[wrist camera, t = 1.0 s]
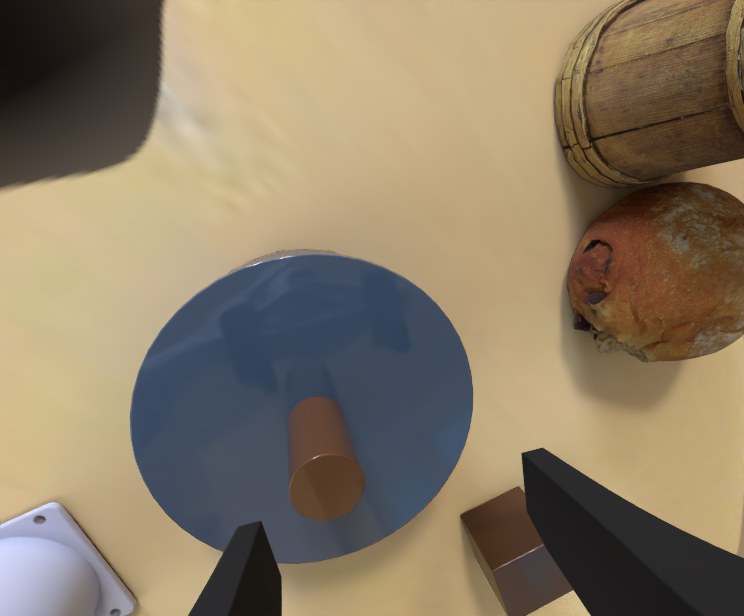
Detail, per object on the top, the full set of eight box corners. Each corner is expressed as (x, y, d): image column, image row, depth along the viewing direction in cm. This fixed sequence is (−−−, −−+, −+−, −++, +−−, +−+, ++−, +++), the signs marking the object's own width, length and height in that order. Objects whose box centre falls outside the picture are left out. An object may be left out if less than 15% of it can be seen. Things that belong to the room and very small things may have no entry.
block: (477, 562, 29) (511, 624, 24) (459, 515, 27) (492, 572, 23) (533, 533, 29) (576, 588, 25) (518, 485, 28) (561, 536, 24)
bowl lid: (234, 592, 19) (220, 723, 14) (65, 336, 15) (-36, 401, 10) (496, 464, 21) (562, 544, 16) (406, 197, 16) (460, 196, 12)
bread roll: (640, 311, 31) (792, 321, 24) (569, 386, 25) (740, 423, 19) (621, 177, 28) (789, 147, 21) (537, 231, 22) (726, 213, 16)
